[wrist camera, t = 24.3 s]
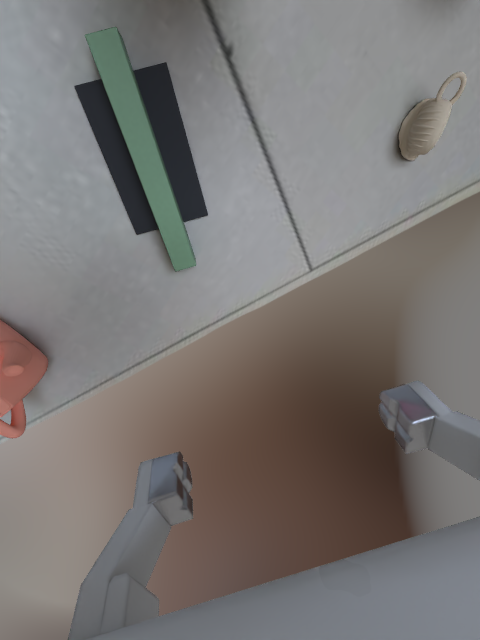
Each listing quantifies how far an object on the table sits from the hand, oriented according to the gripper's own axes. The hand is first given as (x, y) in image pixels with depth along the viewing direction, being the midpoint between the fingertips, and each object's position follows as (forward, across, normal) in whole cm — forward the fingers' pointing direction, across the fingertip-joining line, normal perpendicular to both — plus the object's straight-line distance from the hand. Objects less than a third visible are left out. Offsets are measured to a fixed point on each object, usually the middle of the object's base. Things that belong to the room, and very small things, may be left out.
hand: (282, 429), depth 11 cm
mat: (+34, +5, -10) cm, 36 cm away
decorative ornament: (+34, -30, -6) cm, 46 cm away
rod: (+34, +5, -9) cm, 35 cm away
